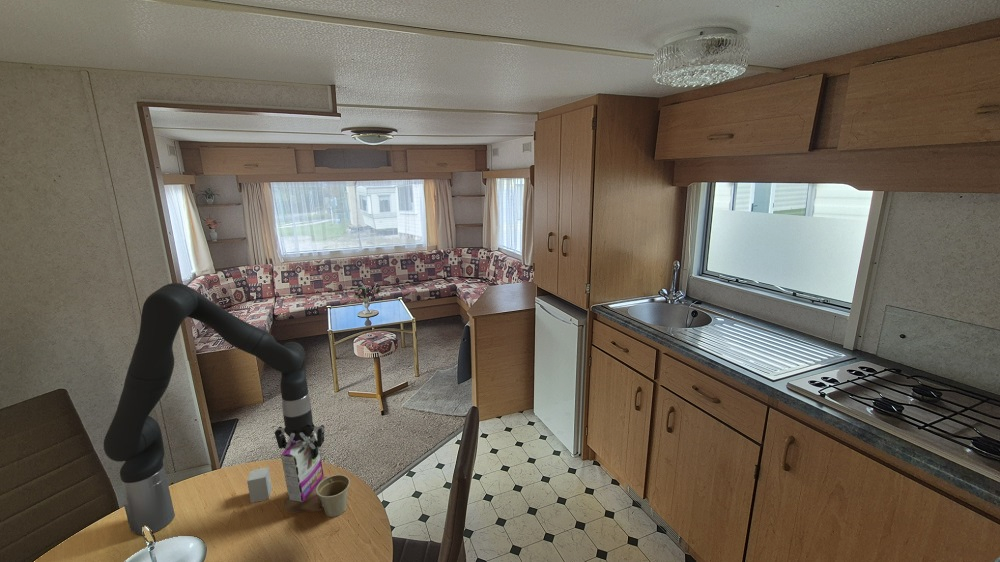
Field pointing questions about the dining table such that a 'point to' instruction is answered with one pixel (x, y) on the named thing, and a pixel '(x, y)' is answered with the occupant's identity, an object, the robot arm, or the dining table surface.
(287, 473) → the candy bar box
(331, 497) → the flower pot
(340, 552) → the dining table surface
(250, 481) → the grey block
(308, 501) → the brown square block
